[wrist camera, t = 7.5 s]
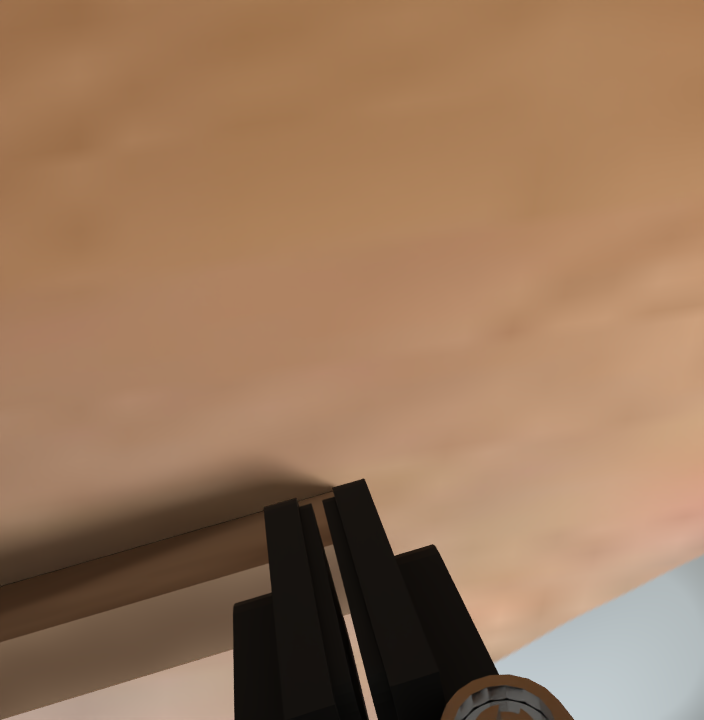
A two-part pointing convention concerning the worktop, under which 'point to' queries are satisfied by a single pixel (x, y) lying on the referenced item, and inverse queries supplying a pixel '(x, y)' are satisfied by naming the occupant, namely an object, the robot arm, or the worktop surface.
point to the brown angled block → (134, 611)
